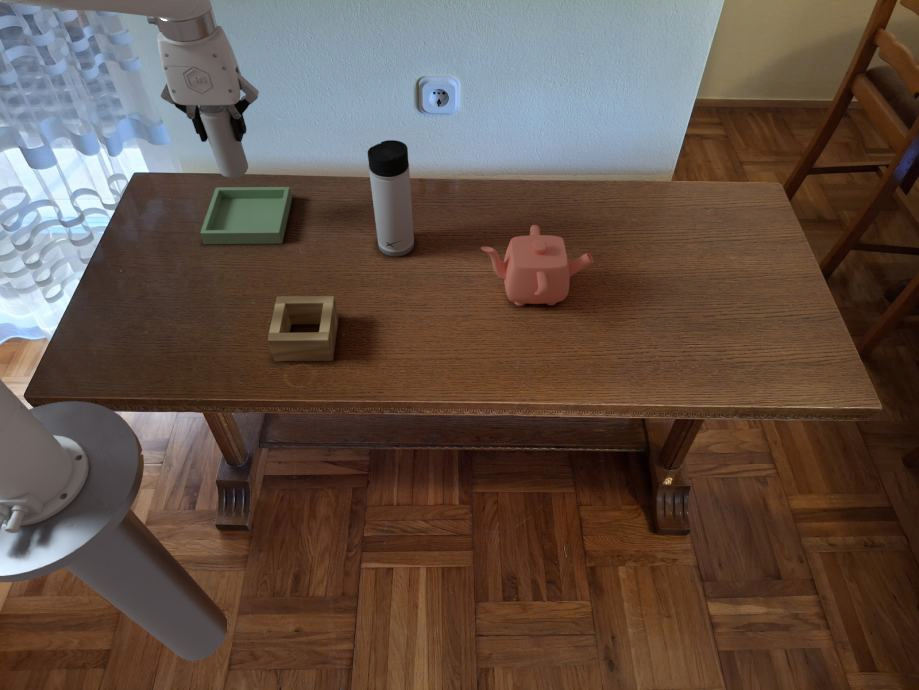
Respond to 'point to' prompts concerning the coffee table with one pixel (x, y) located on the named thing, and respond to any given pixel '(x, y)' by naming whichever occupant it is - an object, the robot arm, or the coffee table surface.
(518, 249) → the teapot
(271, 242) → the tray
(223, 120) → the beverage can
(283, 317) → the holder
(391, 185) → the travel mug
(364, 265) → the coffee table surface
